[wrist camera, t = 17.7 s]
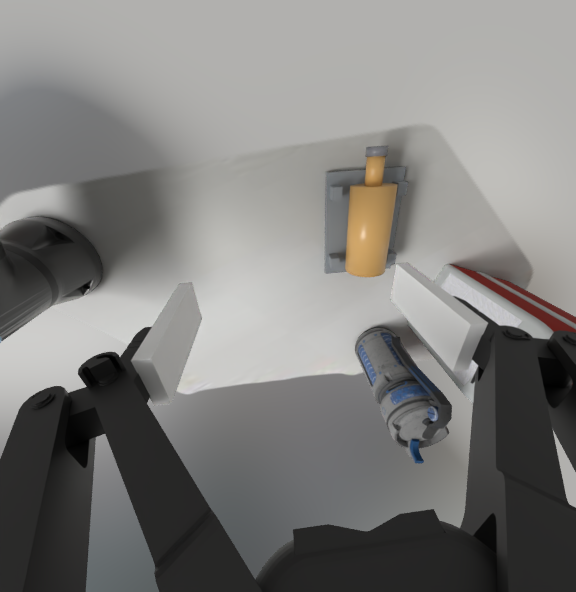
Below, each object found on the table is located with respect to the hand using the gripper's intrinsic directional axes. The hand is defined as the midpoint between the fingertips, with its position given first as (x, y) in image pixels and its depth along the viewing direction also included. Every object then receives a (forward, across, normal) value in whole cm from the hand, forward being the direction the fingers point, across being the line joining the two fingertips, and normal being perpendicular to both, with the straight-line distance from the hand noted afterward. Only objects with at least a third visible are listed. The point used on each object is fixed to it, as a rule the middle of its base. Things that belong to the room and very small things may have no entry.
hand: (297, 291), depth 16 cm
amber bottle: (+30, -15, +2) cm, 34 cm away
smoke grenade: (+31, -22, +32) cm, 50 cm away
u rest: (+31, -15, +4) cm, 35 cm away
